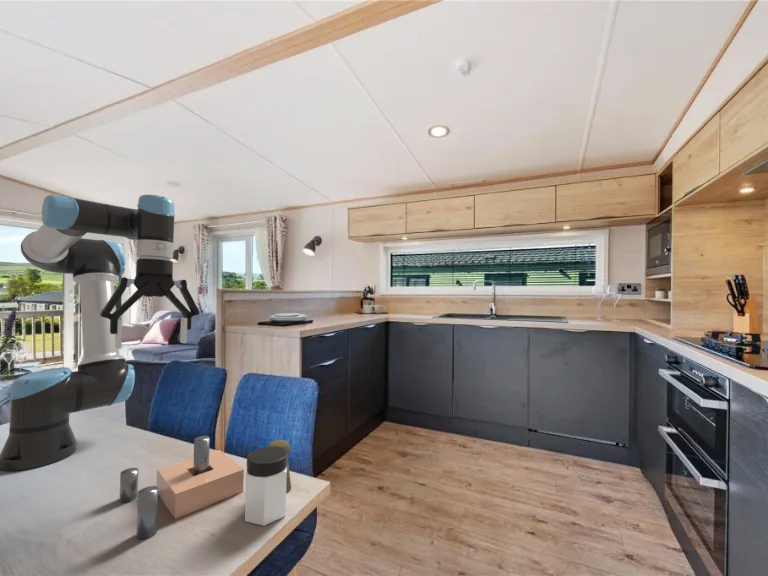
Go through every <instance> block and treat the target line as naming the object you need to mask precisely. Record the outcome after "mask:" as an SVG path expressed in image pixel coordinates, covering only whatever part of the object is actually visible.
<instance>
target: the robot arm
mask: <svg viewBox="0 0 768 576" xmlns="http://www.w3.org/2000/svg"><path fill="white" fill-rule="evenodd" d="M175 216H176V213H175V203H174V201H173V200H172V199H171V198H169V197H167V196H161V195H157V194H142V195H140V196H139V198H138V202H137V209H136V208H130V207H125V206H118V205H113V204H107V203H102V202H96V201H93V200H92V201H90V200H86V199H82V198H81V199H80V198H75V197H72V196H67V195H65V196H64V195H57V194H56V195H55V194H49V195H47V196H45V197H44V199H43V202H42V207H41V220H42V225H40V227H39V228H38V229H37V230H35V231H31V232H30V233H28V234H27V235H26V236H24V238H23V239H22V241H21V242H20V252H21V254H22V256H23V257H24V258H25V260H26V261H27V262H28V263H30V264H31V265H33V266H35V267H36V268H38V269H40V270H44V271H46V272H51V273H55V274H69V275H72V281H73V282H75V283H76V284H78V285H79V293H80V294H79V295H80V310H81V312H80V313H81V329H82V330H81V332H82V346H83V347H82V350H83V351H82V352H83V360H81V362H79V363H78V365H77V371H72V369H71V368H70V367H65V366H64V367H57V368H56V367H53V368H47V369H42V370H39V371H33V372H29V373H27V374H23V375H22V376H19V377H18V378H16V379H15V380H13V382H12V383H11V387H10V395H9V400H10V408H9V409H10V410H9V432H8V437H7V439H6V441H5V443H4V445H3V448H2V449H1V452H0V470H1V471H5V472H7V471H8V472H9V471H11V472H14V471H15V472H16V471H22V470H30V469H34V468H39V467H45V466H47V465H50V464H53V463H57V462H59V461H62V460H64V459H66V458H68V457H70V456H71V455H73V454H74V453H75V452H76V451H77V446H78V445H77V439H76V436H75V434H74V432H73V430H72V427H71V425H70V414H72V413H78V412H82V411H87V410H93V409H97V408H103V407H111V406H113V405H116V404H120V403H124V402H126V401H127V400H128V399H129V398H130V396H131V395H132V392H133V390H134V387H135V386H134V385H135V378H136V373H135V369H134V368H135V367H134V365H133V364H129V363H127V362H126V361H127V360H126V358H125V356H123V355H121V354H120V350H121V349H122V342H123V341H122V338H123V337H122V335H123V320H122V319H119V318H121V317H122V316H123V315H124V313H126V312H127V311H129V309H130V308H131V307H132V306H133V305H134V304H135V303H136V302H137V301H138V300H140V299H141V298H142V297H147V298H152V297H158V298H160V297H161V298H163V297H165V298H166V299H168V301H170V302H171V304H173V305H174V307H175V308H176V309H177V310H178V311H179V312H180V313H181V314H182V316H184V317H180V330H179V331H180V334H179V336H180V337H179V339H180V340H179V342H180V343H181V344H188V343H187V342H188V331H190V330H191V329H192V318H193V317H195V316H197V315H198V316H199V315H200V310H199V307H198V306H197V304H196V302H195V300H194V299H193V297H192V294H191V293H190V291H189V289H188V282H187V280H186V279H179V280H174V278H173V275H174V271H173V270H174V269H173V268H174V262H173V261H172V260H173V259H174V236H175V235H174V234H175V232H174V231H175ZM87 233H88V234H96V235H97V234H98V235H106V236H112V237H113V236H115V237H122V238H126V239H128V240H131V241H132V240H133V241H136V242H137V243H136V256H137V257H138V258H139V259H137V260H136V266H135V267H136V269H135V277H134V278H127V277H125V276H123V277H120V276H122V275H124V273H125V271H126V257H125V252H124V250H123V248H122V247H121V246H120V245H119V244H118V243H116V242H114V241H107V240H105V239H104V240H103V239H93V238H82V237H84V236H85V235H86V234H87ZM117 282H118V286H117V287H116V289H115V283H117ZM132 284H133V285H134V287H136V289H137V290H136V291H135V292H133V294H132V295H130V296H129V298H127V300H126V301H124V303H122V304H121V305H120V306H119V307H118V308H116V306H117V303H118V302H119V300H120V298H121V297H122V296H123V295H124V292H125V291H126V290H127V288H130V287H131V286H132ZM173 287H176V288H177V289H179V292H180V294H181V295H182V298H183V299H184V302H185V303H186V305H187V307H188V308H187V307H186V305H184V304H183V303H182V301H181V300H179V298H178V297H177V296H176V295H175V293H174V292H173V291H172V290H171V289H173Z"/></svg>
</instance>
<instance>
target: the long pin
mask: <svg viewBox="0 0 768 576" xmlns="http://www.w3.org/2000/svg"><path fill="white" fill-rule="evenodd" d="M210 443H211V442H210V436H209V435H200V436H198V437H196V438H194V441H193V458H194V465H193V476H196V475H199V474H202V473H205V472H208V471H209V453H210V448H211V447H210V445H211V444H210Z"/></svg>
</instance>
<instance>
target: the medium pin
mask: <svg viewBox="0 0 768 576" xmlns="http://www.w3.org/2000/svg"><path fill="white" fill-rule="evenodd" d="M136 503H137V505H136V507H137V510H136V512H137V513H136V533H135V534H136V535H135V536H136V539H137V540H146V539H148V538H151V537H153V536H154V535H155V534H157V532H158V508H159V504H158V503H159V494H158V487H157V485H150V486H146V487H143V488H141V489H140V490H138V497H137V502H136Z"/></svg>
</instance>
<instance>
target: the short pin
mask: <svg viewBox="0 0 768 576" xmlns="http://www.w3.org/2000/svg"><path fill="white" fill-rule="evenodd" d="M119 480H120V481H119V503H121V504H127V503H131V502H133V501H134V500H136V499H138V492H139V489H138V488H139V468H138V467H130V468H125V469H124V470H122V471H121V472H120V477H119Z"/></svg>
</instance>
